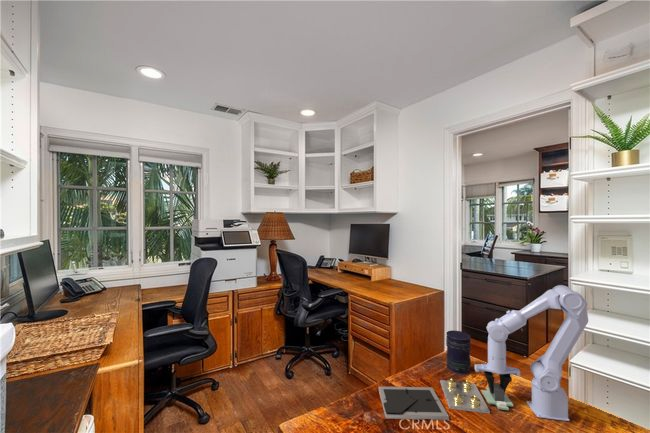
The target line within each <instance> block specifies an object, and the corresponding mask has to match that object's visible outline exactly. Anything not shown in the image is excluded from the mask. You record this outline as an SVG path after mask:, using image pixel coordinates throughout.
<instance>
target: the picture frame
mask: <svg viewBox="0 0 650 433" xmlns="http://www.w3.org/2000/svg"><path fill="white" fill-rule="evenodd" d="M378 392H379V398H380V401H381V404H382V408H383V413H384V417H385V419H393V420H394V419H395V420H398V419H399V420H425V419H433V420H432V421H437V420H438V421H449V420H450V418H449V417H450V416H449V414H448V412H447V410H446V409H445V407H444V405H443V403H442V402H441V400H440V398H439V396H438V394H436V392H435V390H434V388H433V387H428V386H427V387H425V386H424V387H423V386H421V387H420V386H418V387H417V386H378Z"/></svg>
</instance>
